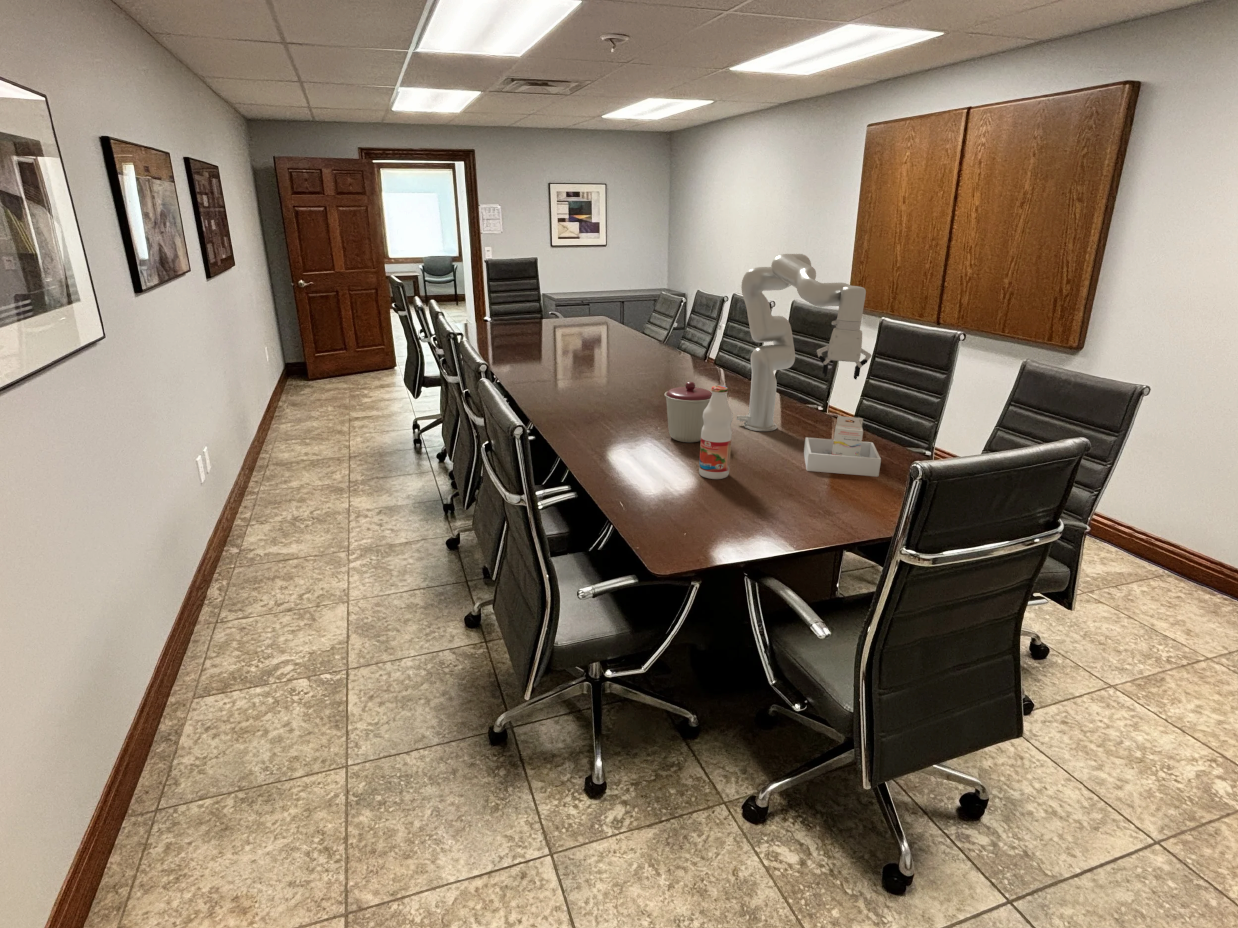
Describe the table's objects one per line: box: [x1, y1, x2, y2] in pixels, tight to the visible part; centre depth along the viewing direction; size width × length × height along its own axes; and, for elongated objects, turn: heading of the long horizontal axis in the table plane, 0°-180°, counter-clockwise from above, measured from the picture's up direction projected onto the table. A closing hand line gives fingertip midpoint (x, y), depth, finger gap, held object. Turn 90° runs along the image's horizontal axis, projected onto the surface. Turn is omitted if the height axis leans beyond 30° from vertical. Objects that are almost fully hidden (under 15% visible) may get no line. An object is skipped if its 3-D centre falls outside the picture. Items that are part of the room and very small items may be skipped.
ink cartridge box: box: [832, 415, 864, 457], centre depth 226 cm, size 9×5×15 cm, turn 75°
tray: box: [803, 436, 882, 477], centre depth 227 cm, size 22×18×6 cm
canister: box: [664, 381, 712, 443], centre depth 249 cm, size 18×18×21 cm
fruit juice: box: [698, 385, 734, 480], centre depth 212 cm, size 9×9×28 cm
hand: (840, 377), depth 230 cm, fingers open, 9 cm apart
